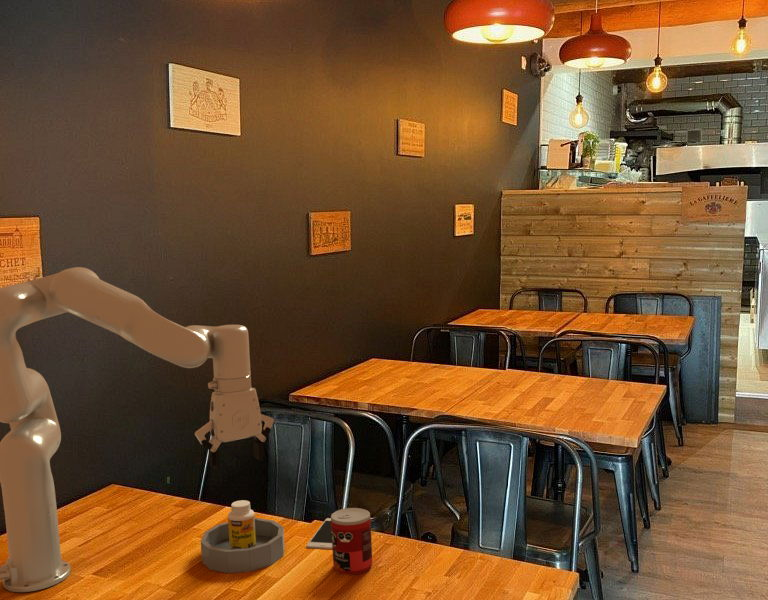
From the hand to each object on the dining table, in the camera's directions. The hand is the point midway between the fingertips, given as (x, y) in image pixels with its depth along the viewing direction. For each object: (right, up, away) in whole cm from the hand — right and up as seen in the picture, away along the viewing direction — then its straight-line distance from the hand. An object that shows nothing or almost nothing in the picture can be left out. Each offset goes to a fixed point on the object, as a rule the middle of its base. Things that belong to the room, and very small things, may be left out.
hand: (237, 463), depth 160 cm
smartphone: (+19, -19, +11) cm, 29 cm away
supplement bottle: (+1, -19, +2) cm, 19 cm away
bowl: (+1, -20, +2) cm, 20 cm away
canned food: (+25, -20, -6) cm, 32 cm away
